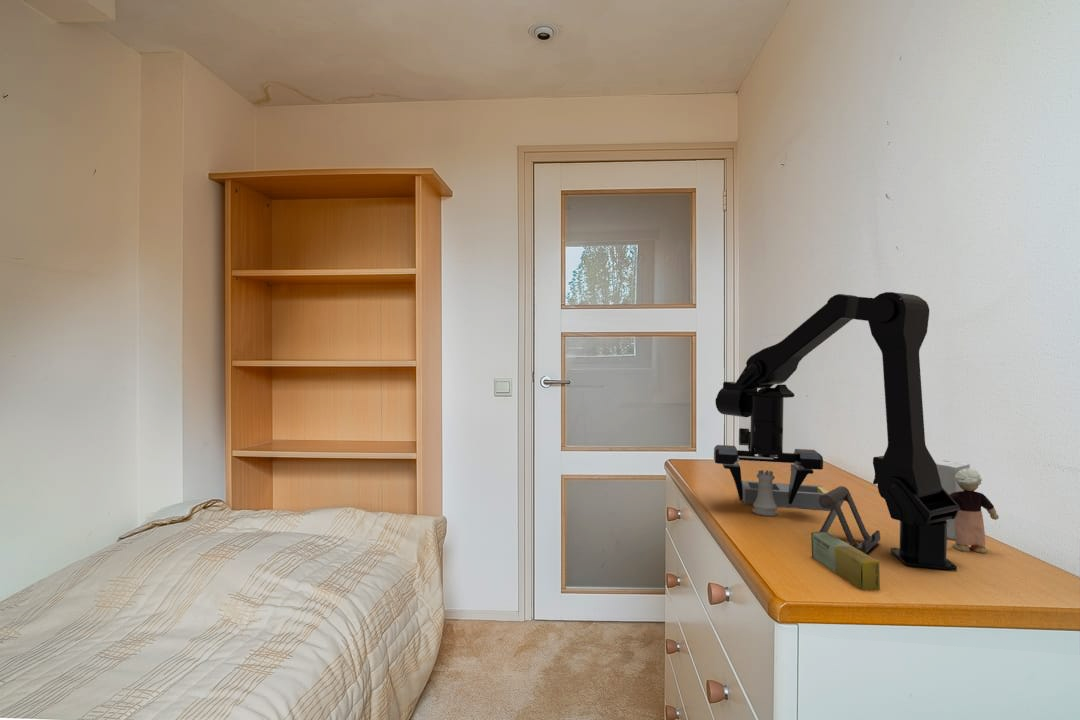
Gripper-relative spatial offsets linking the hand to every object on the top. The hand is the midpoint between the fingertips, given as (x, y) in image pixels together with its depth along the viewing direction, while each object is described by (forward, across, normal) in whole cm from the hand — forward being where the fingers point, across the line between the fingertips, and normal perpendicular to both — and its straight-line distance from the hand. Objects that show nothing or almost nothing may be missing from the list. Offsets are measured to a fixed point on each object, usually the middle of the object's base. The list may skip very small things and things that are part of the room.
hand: (765, 502), depth 106 cm
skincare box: (+2, -29, +4) cm, 29 cm away
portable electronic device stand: (+2, -10, +15) cm, 18 cm away
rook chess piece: (+2, 0, 0) cm, 2 cm away
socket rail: (+2, -5, -10) cm, 11 cm away
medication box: (+3, -6, +28) cm, 29 cm away
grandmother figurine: (+2, -28, +12) cm, 31 cm away
